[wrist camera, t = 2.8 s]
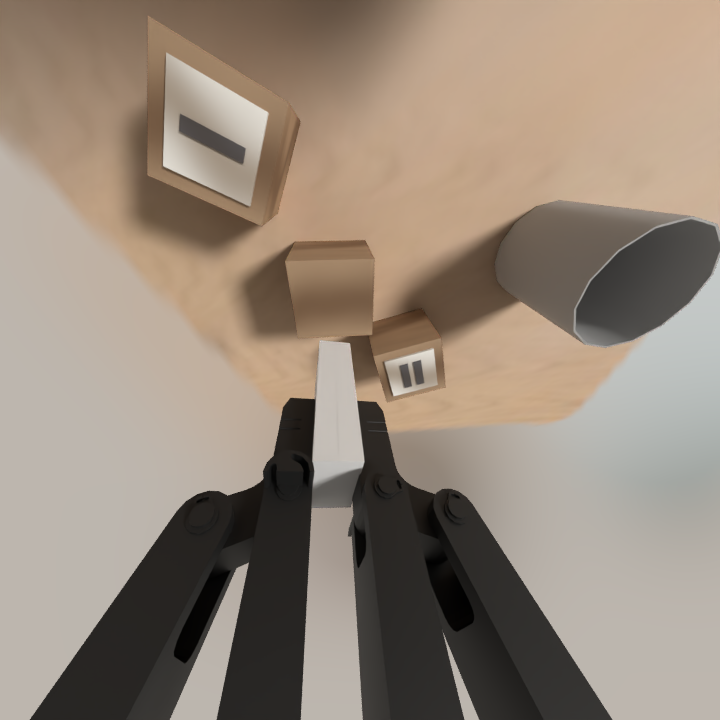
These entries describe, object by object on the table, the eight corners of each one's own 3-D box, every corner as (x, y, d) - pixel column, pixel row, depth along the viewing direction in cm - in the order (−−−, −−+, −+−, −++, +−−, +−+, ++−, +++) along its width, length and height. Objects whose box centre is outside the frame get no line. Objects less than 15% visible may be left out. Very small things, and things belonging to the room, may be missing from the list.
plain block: (295, 241, 22) (285, 261, 17) (365, 240, 22) (374, 258, 17) (304, 306, 25) (298, 338, 21) (364, 304, 26) (372, 334, 21)
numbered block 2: (365, 323, 27) (373, 358, 22) (421, 308, 27) (442, 339, 22) (378, 366, 31) (387, 404, 26) (427, 352, 30) (446, 389, 25)
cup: (491, 303, 27) (559, 358, 19) (498, 217, 22) (594, 242, 14) (573, 282, 26) (679, 330, 18) (598, 188, 22) (758, 198, 13)
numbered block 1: (204, 63, 16) (143, 11, 10) (300, 121, 17) (288, 101, 12) (194, 174, 19) (144, 175, 14) (277, 213, 20) (260, 227, 15)
